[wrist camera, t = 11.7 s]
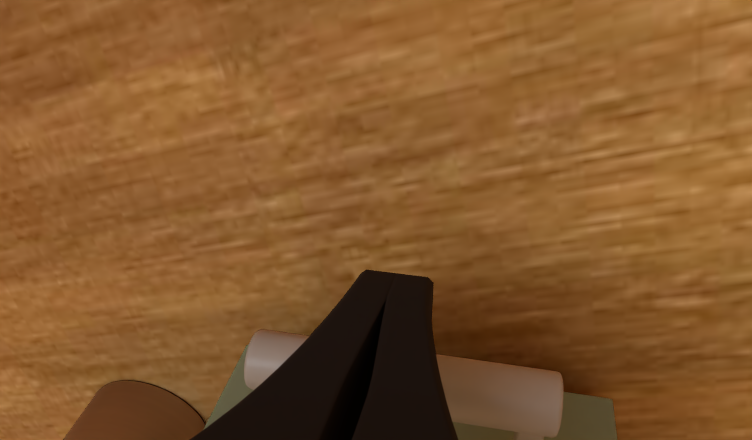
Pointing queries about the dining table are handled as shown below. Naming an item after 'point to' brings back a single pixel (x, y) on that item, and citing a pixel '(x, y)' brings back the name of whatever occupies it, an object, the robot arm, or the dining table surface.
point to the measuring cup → (136, 415)
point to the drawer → (460, 395)
